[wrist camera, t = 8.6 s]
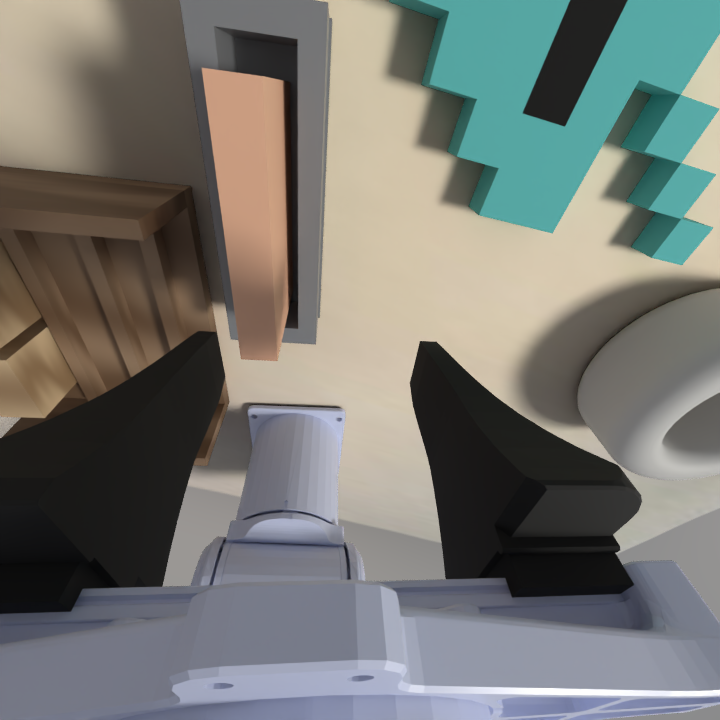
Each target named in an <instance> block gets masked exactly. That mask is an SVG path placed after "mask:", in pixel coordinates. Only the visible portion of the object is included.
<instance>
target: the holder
mask: <svg viewBox="0 0 720 720" xmlns="http://www.w3.org/2000/svg"><path fill="white" fill-rule="evenodd" d="M180 6H181V13H182V20H183V26H184V33H185V39H186V46H187V53H188V59H189V66H190V73H191V79H192V86H193V92H194V99H195V106H196V112H197V119H198V125H199V132H200V139H201V145H202V152H203V159H204V165H205V172H206V178H207V185H208V192H209V198H210V205H211V211H212V218H213V225H214V231H215V238H216V245H217V251H218V258H219V264H220V271H221V278H222V284H223V291H224V298H225V304H226V311H227V317H228V324H229V331H230V337H231V339H232V340H238V333H237V325H236V318H235V311H234V303H233V296H232V289H231V281H230V274H229V266H228V259H227V252H226V244H225V237H224V229H223V222H222V215H221V207H220V200H219V192H218V185H217V178H216V170H215V163H214V156H213V148H212V141H211V133H210V126H209V119H208V111H207V104H206V96H205V89H204V82H203V74H202V68H208V69H215V70H222V71H229V72H236V73H243V74H251V75H258V76H264V77H269V78H274V79H278V80H283V81H288V82H290V110H291V183H292V256H293V293H292V297H291V302H290V306H289V311H288V315H287V320H286V324H285V329H284V333H283V338H282V342H284V343H302V344H316V334H317V322H318V318H319V317H320V298H321V274H322V251H323V227H324V203H325V180H326V156H327V133H328V109H329V85H330V62H331V38H332V18H329V9H328V3H327V2H321V1H315V0H180Z"/></svg>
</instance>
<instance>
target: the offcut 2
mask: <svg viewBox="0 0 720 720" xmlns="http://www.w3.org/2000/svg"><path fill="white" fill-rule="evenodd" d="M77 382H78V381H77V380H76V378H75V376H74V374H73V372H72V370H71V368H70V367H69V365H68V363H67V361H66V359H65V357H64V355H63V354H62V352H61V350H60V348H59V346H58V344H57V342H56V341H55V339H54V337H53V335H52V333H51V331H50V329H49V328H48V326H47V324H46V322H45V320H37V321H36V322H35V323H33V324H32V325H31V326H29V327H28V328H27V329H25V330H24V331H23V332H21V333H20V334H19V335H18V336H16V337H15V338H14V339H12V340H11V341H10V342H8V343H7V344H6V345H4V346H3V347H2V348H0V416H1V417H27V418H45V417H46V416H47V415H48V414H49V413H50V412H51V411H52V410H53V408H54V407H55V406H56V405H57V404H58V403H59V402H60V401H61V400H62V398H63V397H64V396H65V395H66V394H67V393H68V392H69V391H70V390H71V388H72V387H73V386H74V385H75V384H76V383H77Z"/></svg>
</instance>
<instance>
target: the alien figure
mask: <svg viewBox="0 0 720 720" xmlns="http://www.w3.org/2000/svg"><path fill="white" fill-rule="evenodd" d="M389 2H391V3H394V4H397V5H400V6H402V7H405V8H408V9H411V10H414V11H417V12H419V13H422V14H425V15H428V16H431V17H434V18H436V19H439V20H438V24H437V28H436V31H435V35H434V39H433V42H432V46H431V50H430V54H429V57H428V61H427V65H426V69H425V72H424V76H423V80H422V84H421V85H423V86H427V87H430V88H433V89H436V90H439V91H443V92H446V93H449V94H452V95H455V96H459V97H462V98H465V100H464V103H463V106H462V109H461V112H460V115H459V118H458V121H457V124H456V127H455V130H454V133H453V136H452V139H451V142H450V145H449V148H448V151H447V152H449V153H451V154H453V155H455V156H457V157H460V158H464V159H467V160H471V161H474V162H478V163H482V164H485V167H484V169H483V172H482V174H481V177H480V179H479V182H478V184H477V187H476V189H475V192H474V194H473V197H472V199H471V202H470V204H469V207H470V208H471V209H472V210H474V211H475V212H476V213H477V214H478V215H480V216H484V217H488V218H493V219H497V220H501V221H505V222H509V223H513V224H517V225H521V226H525V227H529V228H533V229H537V230H541V231H545V232H549V233H553V232H554V230H555V228H556V226H557V224H558V223H559V221H560V219H561V217H562V216H563V214H564V212H565V210H566V209H567V207H568V205H569V203H570V202H571V200H572V198H573V196H574V195H575V193H576V191H577V189H578V187H579V186H580V184H581V182H582V180H583V179H584V177H585V175H586V173H587V172H588V170H589V168H590V166H591V165H592V163H593V161H594V159H595V158H596V156H597V154H598V152H599V150H600V149H601V147H602V145H603V143H604V142H605V140H606V138H607V136H608V135H609V133H610V131H611V129H612V128H613V126H614V124H615V122H616V121H617V119H618V117H619V115H620V113H621V112H622V110H623V108H624V106H625V105H626V103H627V101H628V99H629V98H630V96H631V94H632V92H633V91H634V89H637V90H640V91H643V92H646V93H648V94H651V97H650V99H649V100H648V102H647V104H646V105H645V107H644V109H643V110H642V112H641V114H640V115H639V117H638V119H637V120H636V122H635V124H634V125H633V127H632V129H631V130H630V132H629V134H628V135H627V137H626V139H625V140H624V142H623V144H622V145H621V147H622V148H625V149H628V150H631V151H634V152H638V153H641V154H644V155H647V156H650V157H654V158H655V159H654V160H653V162H652V163H651V165H650V166H649V168H648V169H647V171H646V172H645V174H644V175H643V177H642V178H641V180H640V181H639V183H638V184H637V186H636V187H635V189H634V190H633V192H632V193H631V195H630V196H629V198H628V199H627V201H626V202H629V203H632V204H634V205H637V206H640V207H642V208H645V209H648V210H651V211H655V212H656V213H655V215H654V216H653V217H652V219H651V220H650V221H649V223H648V224H647V226H646V227H645V228H644V230H643V231H642V232H641V234H640V235H639V237H638V238H637V239H636V241H635V242H634V244H633V245H632V246H631V247H632V248H634V249H636V250H638V251H640V252H642V253H644V254H645V255H647V256H649V257H651V258H655V259H659V260H663V261H667V262H671V263H675V264H679V265H683V263H684V262H685V261H686V260H687V259H688V257H689V256H690V255H691V254H692V253H693V251H694V250H695V249H696V248H697V247H698V246H699V244H700V243H701V242H702V241H703V240H704V238H705V237H706V236H707V235H708V234H709V233H710V231H711V230H712V229H713V228H712V227H710V226H707V225H704V224H701V223H699V222H696V221H693V220H690V219H687V218H684V215H685V214H686V213H687V211H688V210H689V209H690V207H691V206H692V205H693V204H694V202H695V201H696V200H697V198H698V197H699V196H700V195H701V193H702V192H703V191H704V189H705V188H706V187H707V186H708V184H709V183H710V182H711V180H712V179H713V178H714V177H715V175H716V174H713V173H710V172H707V171H704V170H701V169H698V168H694V167H691V166H688V165H685V164H682V161H683V160H684V159H685V157H686V156H687V154H688V153H689V151H690V150H691V149H692V147H693V146H694V144H695V143H696V142H697V140H698V139H699V137H700V136H701V135H702V133H703V132H704V130H705V129H706V127H707V126H708V125H709V123H710V122H711V120H712V119H713V118H714V116H715V115H716V113H717V112H718V110H719V109H718V108H716V107H713V106H710V105H707V104H704V103H702V102H699V101H696V100H693V99H691V98H688V97H685V96H682V95H681V93H682V92H683V90H684V89H685V87H686V86H687V84H688V83H689V81H690V79H691V78H692V76H693V75H694V73H695V72H696V70H697V68H698V67H699V65H700V64H701V62H702V61H703V59H704V57H705V56H706V54H707V53H708V51H709V50H710V48H711V46H712V45H713V43H714V42H715V40H716V39H717V37H718V35H719V34H720V0H389Z"/></svg>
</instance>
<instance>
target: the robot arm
mask: <svg viewBox="0 0 720 720" xmlns="http://www.w3.org/2000/svg"><path fill="white" fill-rule="evenodd" d="M224 381H225V372H224V367H223V362H222V357H221V352H220V347H219V342H218V337H217V332H211V331H197V332H196V333H194V334H193V335H191V336H190V337H189V338H187V339H186V340H184V341H183V342H182V343H180V344H179V345H178V346H176V347H175V348H174V349H172V350H171V351H169V352H168V353H167V354H165V355H164V356H162V357H161V358H160V359H158V360H157V361H155V362H154V363H152V364H151V365H149V366H148V367H146V368H145V369H143V370H142V371H140V372H139V373H137V374H136V375H134V376H133V377H131V378H129V379H128V380H126V381H125V382H123V383H121V384H120V385H118V386H116V387H114V388H113V389H111V390H109V391H107V392H105V393H103V394H102V395H100V396H98V397H96V398H94V399H92V400H90V401H88V402H86V403H84V404H82V405H80V406H77V407H75V408H73V409H71V410H69V411H67V412H64V413H62V414H60V415H58V416H56V417H54V418H51V419H49V420H47V421H44V422H42V423H39V424H37V425H34V426H32V427H29V428H27V429H24V430H21V431H19V432H16V433H14V434H11V435H8V436H6V437H3V438H0V720H601V719H611V718H621V717H632V716H643V715H655V714H668V713H680V712H689V711H693V710H697V709H701V708H706V707H710V706H714V705H718V704H720V622H719V621H718V619H717V618H716V617H715V615H714V614H713V612H712V611H711V610H710V608H709V607H708V606H707V604H706V603H705V602H704V600H703V599H702V597H701V596H700V595H699V593H698V592H697V590H696V589H695V588H694V587H693V585H692V584H691V582H690V581H689V579H688V578H687V577H686V575H685V574H684V573H683V571H682V570H681V568H680V567H679V566H678V564H677V563H676V562H674V561H672V560H666V561H665V560H663V561H662V560H661V561H635V562H629V563H626V564H623V565H622V564H621V562H620V560H619V559H618V557H617V555H616V554H615V552H618V551H620V546H619V544H618V543H617V541H616V539H615V538H614V536H613V534H614V533H615V532H616V531H617V530H619V529H620V528H621V527H622V526H623V525H624V524H626V523H627V522H628V521H629V520H630V519H631V518H632V517H633V516H634V515H635V514H636V513H637V512H638V510H639V508H640V505H641V502H642V499H641V495H640V493H639V492H638V491H637V489H636V488H635V487H634V486H633V484H632V483H631V482H630V480H629V479H628V478H627V476H626V475H625V474H624V472H623V471H622V470H621V468H620V467H619V466H618V465H616V464H614V463H612V462H609V461H607V460H605V459H603V458H600V457H598V456H596V455H594V454H591V453H589V452H587V451H585V450H583V449H580V448H578V447H576V446H574V445H572V444H571V443H569V442H567V441H565V440H563V439H561V438H559V437H557V436H555V435H553V434H552V433H550V432H548V431H546V430H545V429H543V428H541V427H540V426H538V425H536V424H535V423H533V422H531V421H530V420H528V419H527V418H525V417H523V416H522V415H520V414H519V413H517V412H516V411H515V410H513V409H512V408H510V407H509V406H508V405H506V404H505V403H503V402H502V401H501V400H499V399H498V398H497V397H495V396H494V395H493V394H492V393H491V392H489V391H488V390H487V389H486V388H485V387H483V386H482V385H481V384H480V383H479V382H478V381H477V380H475V379H474V378H473V377H472V376H471V375H470V374H469V373H468V372H467V371H466V370H465V369H464V368H463V367H462V366H461V365H459V364H458V363H457V362H456V361H455V360H454V359H453V358H452V357H451V356H450V355H449V354H448V353H447V352H446V351H445V350H444V349H443V348H442V347H441V346H440V345H439V344H438V343H437V342H427V341H420V344H419V348H418V352H417V356H416V360H415V365H414V369H413V373H412V377H411V381H410V387H411V395H412V402H413V407H414V411H415V415H416V418H417V422H418V425H419V429H420V432H421V436H422V439H423V443H424V446H425V450H426V453H427V457H428V461H429V465H430V469H431V475H432V481H433V486H434V492H435V499H436V505H437V512H438V518H439V526H440V533H441V541H442V549H443V558H444V567H445V577H446V579H444V580H443V579H441V580H402V581H365V572H364V565H363V561H362V557H361V555H360V553H359V552H358V550H357V549H356V547H355V545H354V544H353V543H351V542H344V527H343V526H338V472H339V464H340V456H341V448H342V439H343V431H344V423H345V410H344V409H341V408H318V407H291V406H265V405H251V406H249V408H248V419H249V427H250V434H251V441H252V454H251V458H250V462H249V466H248V471H247V475H246V479H245V483H244V487H243V492H242V496H241V500H240V504H239V509H238V513H237V517H236V520H235V521H231V522H230V526H229V530H228V534H227V538H226V537H216V538H215V539H214V540H213V542H211V543H210V544H209V545H208V546H207V547H206V548H205V549H204V551H203V552H202V554H201V556H200V559H199V561H198V564H197V567H196V570H195V573H194V576H193V580H192V583H191V586H169V587H162V585H163V581H164V576H165V572H166V567H167V562H168V558H169V553H170V549H171V545H172V540H173V537H174V532H175V528H176V524H177V520H178V516H179V513H180V509H181V505H182V502H183V498H184V494H185V491H186V487H187V484H188V480H189V477H190V474H191V470H192V467H193V464H194V461H195V459H196V456H197V453H198V451H199V449H200V446H201V444H202V442H203V439H204V437H205V434H206V432H207V430H208V427H209V425H210V423H211V420H212V418H213V415H214V413H215V411H216V408H217V406H218V403H219V400H220V397H221V393H222V389H223V385H224ZM339 417H340V418H339Z"/></svg>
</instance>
